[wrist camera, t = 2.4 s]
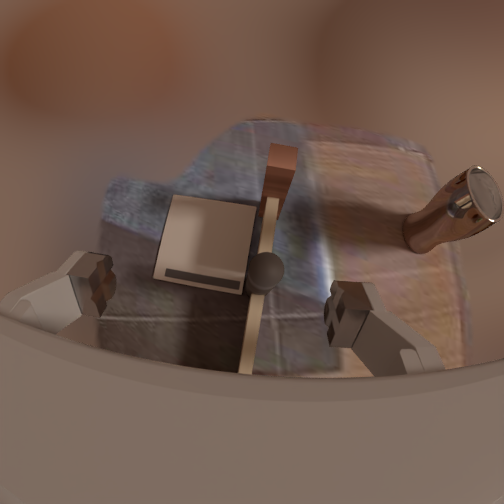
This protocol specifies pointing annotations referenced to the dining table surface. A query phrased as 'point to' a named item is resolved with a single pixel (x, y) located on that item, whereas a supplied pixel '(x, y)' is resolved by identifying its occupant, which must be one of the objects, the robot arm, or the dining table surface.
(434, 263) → the dining table surface
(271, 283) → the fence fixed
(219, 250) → the card
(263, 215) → the fence gate
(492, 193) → the beer glass
